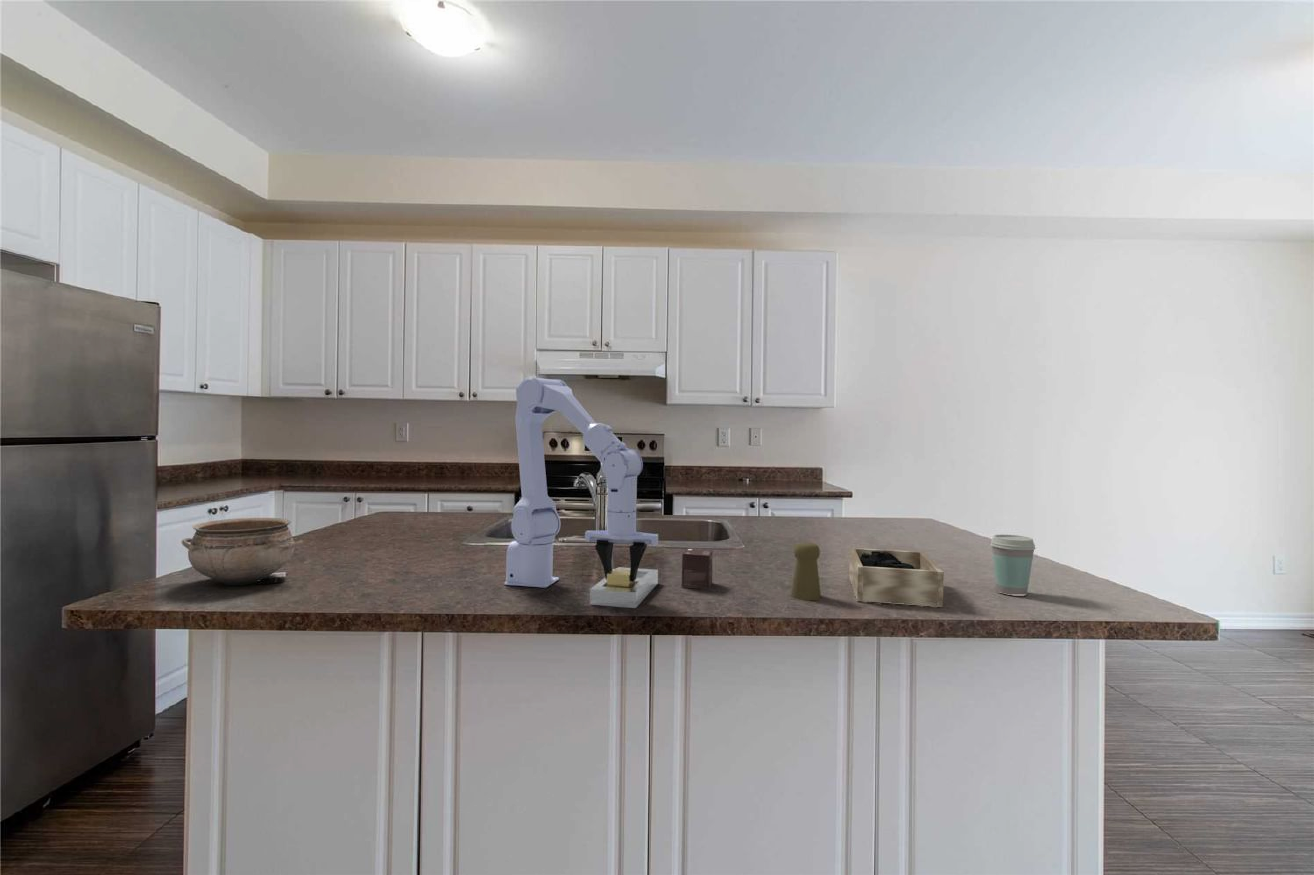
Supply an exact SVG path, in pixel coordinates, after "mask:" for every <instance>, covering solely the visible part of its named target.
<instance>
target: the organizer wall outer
mask: <svg viewBox="0 0 1314 875" xmlns="http://www.w3.org/2000/svg"><path fill="white" fill-rule="evenodd" d="M919 552H920V564H919V570H934V571H938V599H937V606H938V607H944V581H945V580H944V576H945V575H944V574H945V573H944V571H943V570H942V569H941V568H940V567H939V566H938V565H937V564H936V563H935V562H934V561H933V560H932V559H931V558H930V556H929V555H927V554H926V553H925V552H924V551H919Z"/></svg>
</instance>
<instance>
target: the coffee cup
mask: <svg viewBox="0 0 1314 875" xmlns="http://www.w3.org/2000/svg"><path fill="white" fill-rule="evenodd" d="M990 546H991V549H992V551H991V552H992V561H993V562H992V564H993V573H994V584H995V591H996V590H997V591H999V592H1002V593H1006V594H1026V593H1027V594H1028V591H1029V583H1030V576H1031V571H1032V564H1033V558H1034V552H1035V550H1036V549H1037V548H1036V544H1035V543H1034V538H1032V537H1029V536H1024V535H1016V534H994V535H993V536H992V539H991V541H990Z"/></svg>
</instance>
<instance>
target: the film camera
mask: <svg viewBox="0 0 1314 875" xmlns="http://www.w3.org/2000/svg"><path fill="white" fill-rule="evenodd" d="M859 559H860V561H861V563H862V565H863V566H868V567H884V568H901V569H915V568H914V567H913V566H912V565H910V564H906V563H901V561H899V560H898V559H897V558H896V557H895V556H893V555H892V554H890V553H888V552H879V551H872V552H871V555H870V554H866V553H863V554H862V555H861V557H860V558H859Z"/></svg>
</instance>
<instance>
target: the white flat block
mask: <svg viewBox="0 0 1314 875" xmlns="http://www.w3.org/2000/svg"><path fill="white" fill-rule="evenodd" d="M630 568H631V567H623V566H621V567H620V566H619V567H616V568H615V569H623V570H630ZM658 584H659V570H658V569H649V568H639V567H638V570H637V575H636V580H635V586H634V587H633V588H632V589H630V588H616V587H607V580H606V579H605V577H604V578H602V579H601V580H600V581H599V582H597V583H596V584H595V585H594V586H593V587H590V589H589V591H590V592H589V605H592V606H602V607H604V606H605V607H617V608H628V609H629V608H630V609H637V607H638V606H639V605H640V604H641V603H642V602H643V601H644V600H645V598H647V597H648V595H649V594H650V592H652V590H654V588H655V587H656V586H657V585H658Z"/></svg>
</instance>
